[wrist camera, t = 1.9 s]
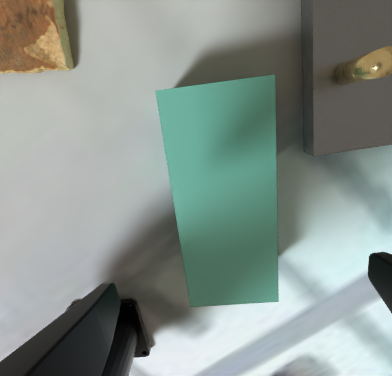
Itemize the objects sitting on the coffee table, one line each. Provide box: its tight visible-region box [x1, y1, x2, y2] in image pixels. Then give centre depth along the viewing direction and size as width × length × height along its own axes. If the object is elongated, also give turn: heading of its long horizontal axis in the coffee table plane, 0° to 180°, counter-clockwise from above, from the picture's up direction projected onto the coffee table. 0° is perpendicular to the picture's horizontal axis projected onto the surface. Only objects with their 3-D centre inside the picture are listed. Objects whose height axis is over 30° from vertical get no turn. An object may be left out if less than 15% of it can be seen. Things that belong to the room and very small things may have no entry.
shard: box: [0, 0, 74, 73], centre depth 14 cm, size 11×8×2 cm
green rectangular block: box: [156, 74, 278, 307], centre depth 15 cm, size 14×6×4 cm, turn 7°
